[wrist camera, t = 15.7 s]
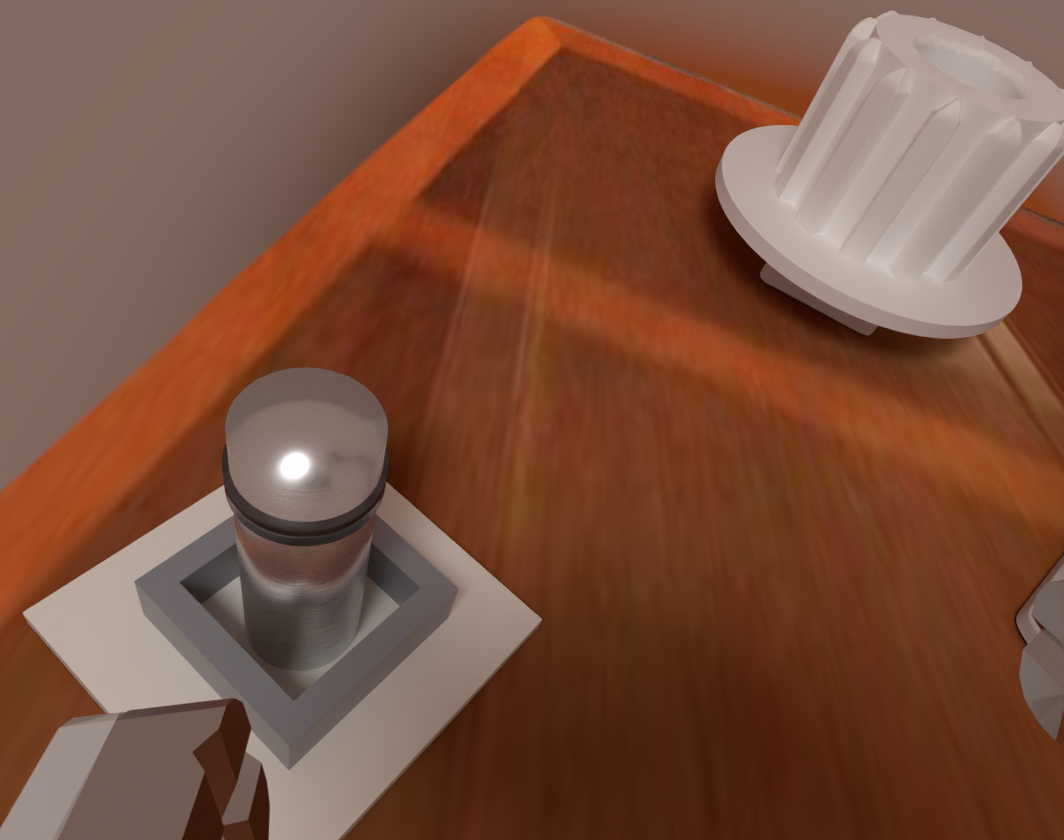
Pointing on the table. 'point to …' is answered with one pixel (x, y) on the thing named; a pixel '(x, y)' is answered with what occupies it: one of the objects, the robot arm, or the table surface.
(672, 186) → the table surface
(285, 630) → the capped metal cylinder
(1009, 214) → the flanged gear
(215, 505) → the socket mount
